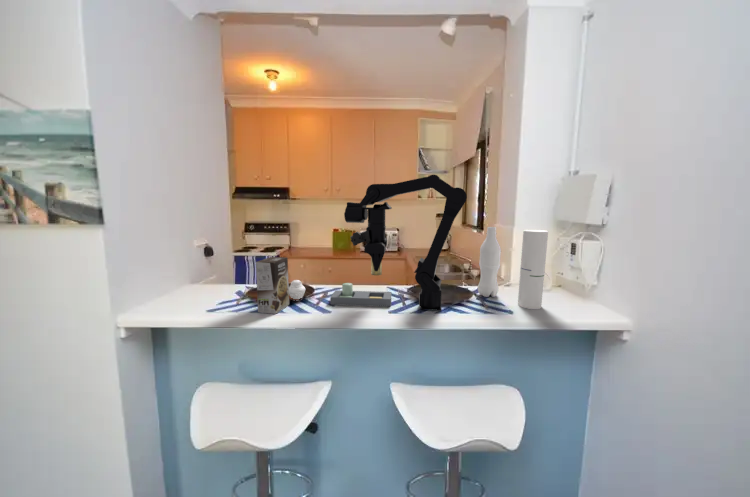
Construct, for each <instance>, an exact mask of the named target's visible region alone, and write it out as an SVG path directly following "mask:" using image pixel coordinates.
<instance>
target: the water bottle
mask: <svg viewBox="0 0 750 497" xmlns="http://www.w3.org/2000/svg"><path fill="white" fill-rule="evenodd" d="M486 228H487V230H486V236H485V239H484V240H483V242H482V244H481V245H480V248H479V263H478V265H479V268H480V280H479V283H478V285H477V292H478V294H479V295H480V296H483V297H484V298H489V297H490V296H491V298H495V297H496V296H497V295H498V292H499V285H498V272H499V270H500V267H501V252H502V248H501V245H500V243H499V241H498V238H497V227H496V226H487V227H486Z"/></svg>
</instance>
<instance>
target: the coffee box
mask: <svg viewBox="0 0 750 497" xmlns="http://www.w3.org/2000/svg"><path fill="white" fill-rule="evenodd" d="M288 259H289V258H288V257H287V256H286V257H284V256H281V257H280V256H275V257H274V256H269V257H266V258H263V259H261V260H257V261H255V271H256V272H255V274H256V278H255V279H256V293H257V294H256V296H257V312H258V313H260V314H271V315H277V314H278V313H280V312H281V311H282V310H284V309H285V308H287V307H288V306H289V305H290V295H289V286H290V285H289V265H288V262H289V260H288Z"/></svg>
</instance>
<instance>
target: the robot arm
mask: <svg viewBox="0 0 750 497" xmlns="http://www.w3.org/2000/svg"><path fill="white" fill-rule="evenodd" d="M430 189H433V190H435V192H437V193H439V194H440V195H442V196H443V197H444V198H445V204H444V210H443V215H442V217H441V220H440V222H439V225H438V228H437V230H436V233H435V235H434V238H433V240H432V243H431V245H430V248H429V250H428V253H427V255H426V257H425V258H423V257H420V258H419V259H418V262H417V267H416V268H415V270H414V271H413V273H414V274H415V276H414V280H415V282H416V283H417V284H418V285H419V286H420V291H419V292H418V305H419V306H418V307H420V310H422V311H442V310H443V309H442V289H441V284H442V279H441V278H440V277H439V276H438V275H437V274H436V273H437V272H436V271H437V267H438V262H439V258H440V255H441V254H442V251H443V248H444V245H445V243H446V241H447V238H448V236H449V234H450V231H451V229H452V226H453V224H454V221H455V219H456V217H457V216H458V214H459V213H460V211H461V209H462V208H463V207H464V205H465V203H466V202H467V198H468V196H467V192H466V191H465V190H464V189H463V188H461V187H453V186H452V185H450V183H448V182H446V181H445V180H443V179H442V178H440V176H438V175H437V174H430V175H428V176H423V177H419V178H414V179H409V180H405V181H399V182H396V183H372V184H370V185H369V186H368V187H367V188H366V191H365V195H364V197H363V198H362V199H361V201H360V202H352V201H350V202H346V207H345V209H344V213H343V214H344V215H343V216H344V221H345V222H346V223H352V224H353V223H354V224H364V223H365V221H366V220H367V227H366V230H364V231H361V232H359V231H356V232H352V235H350V242H351V243H352V245H353V247H355V246H358V245H359V244H363V243H365V242H366V244H365V245H364V246H363V247H364V250H363V252H364V253H365V254H368V256H370V259H371V258H372V262H373V267H374V271H378V269H379V266H380V264H381V261H382V260H383V258H384V256H385V253H386V250H387V246H388V238H386V227H387V226H386V211H387V210H388V211H389V210H392V209H393V208H392V207H391V205H390V204H389V203H388V202H387V200H390V199H392V198H394V197H397V196H399V195H405V194H410V193H415V192H420V191H424V190H430ZM381 202H383V203H382V204H381ZM376 203H377V204H376ZM367 206H372V207H367Z"/></svg>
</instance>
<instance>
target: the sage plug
mask: <svg viewBox="0 0 750 497" xmlns="http://www.w3.org/2000/svg"><path fill="white" fill-rule="evenodd" d="M341 286H342V287H341V288H342V290H341V291H342V296H352V297H353V291H354V288H353V287H354V286H353V283H351V282H345V283H342V284H341Z"/></svg>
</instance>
